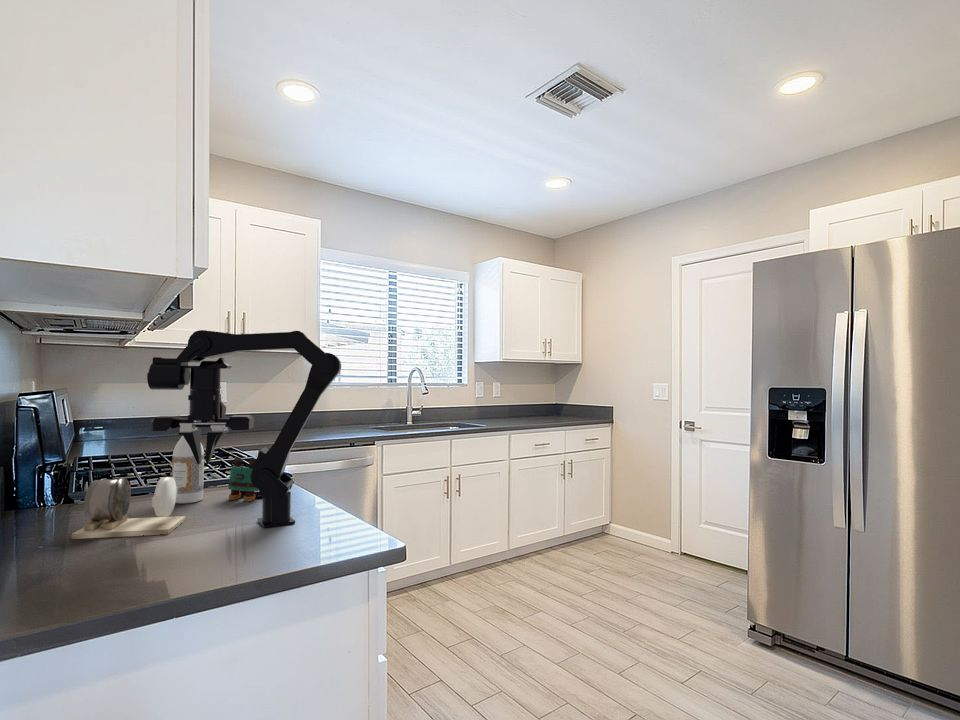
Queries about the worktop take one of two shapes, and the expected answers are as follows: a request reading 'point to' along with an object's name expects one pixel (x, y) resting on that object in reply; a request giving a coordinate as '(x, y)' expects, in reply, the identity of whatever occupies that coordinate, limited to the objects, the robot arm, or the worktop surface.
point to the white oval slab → (164, 497)
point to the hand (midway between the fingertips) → (203, 463)
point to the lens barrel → (107, 500)
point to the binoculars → (242, 481)
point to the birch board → (129, 527)
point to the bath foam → (187, 473)
